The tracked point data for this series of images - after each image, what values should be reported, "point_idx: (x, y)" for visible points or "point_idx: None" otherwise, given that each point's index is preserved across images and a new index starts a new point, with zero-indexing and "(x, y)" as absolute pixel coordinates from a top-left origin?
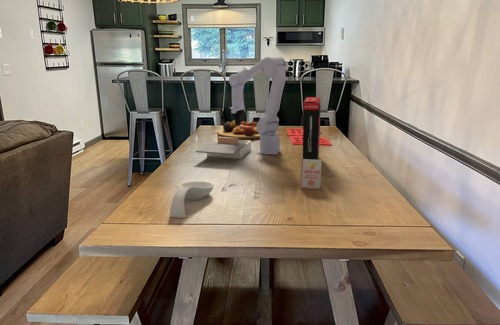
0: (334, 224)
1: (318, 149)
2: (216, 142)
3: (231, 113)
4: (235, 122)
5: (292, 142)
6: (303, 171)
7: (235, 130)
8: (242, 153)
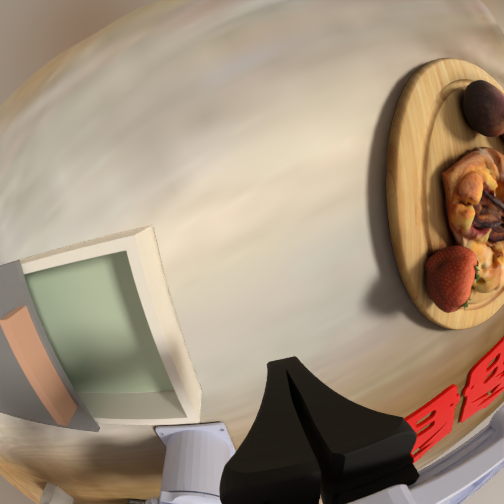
0: (19, 484)
1: None
2: (16, 298)
3: (227, 469)
4: (267, 386)
5: None
6: (42, 501)
7: (460, 178)
8: None
